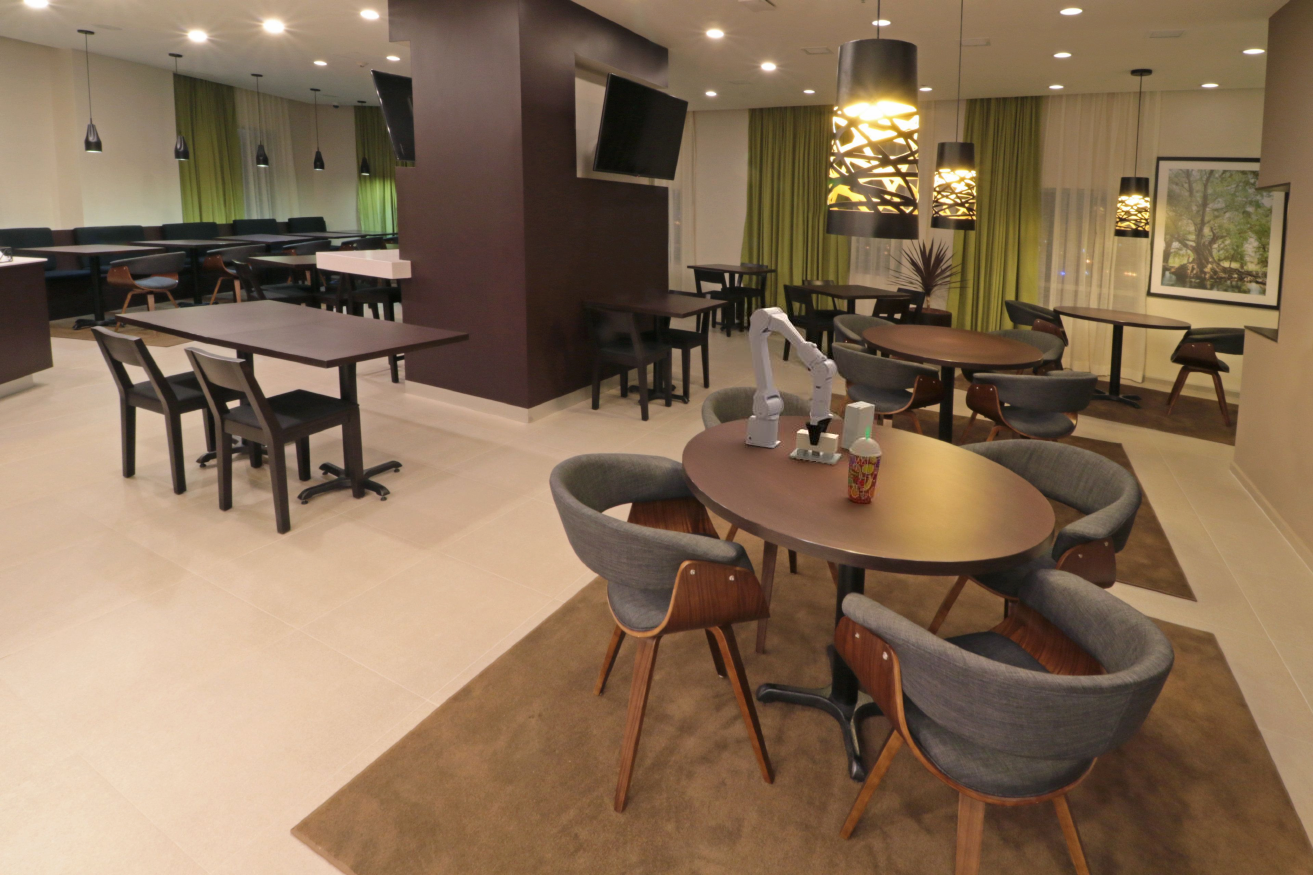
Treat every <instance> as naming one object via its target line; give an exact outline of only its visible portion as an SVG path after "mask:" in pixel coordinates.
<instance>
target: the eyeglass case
mask: <svg viewBox="0 0 1313 875" xmlns="http://www.w3.org/2000/svg"><path fill="white" fill-rule="evenodd" d="M839 436H840V435H839V434H836V433H835V434H834V433H828V432H826V433H822V432H821V435H820V438H819V442H818V445H817V446H814V445H810V439H809V433H808V429H799V430H798V431H797V432H796V438H795V439H796V441H795V449H797V448H799V449H805V450H811V451H817V452H823V453H829V454H834V453H836V452H837V451H838V444H839Z"/></svg>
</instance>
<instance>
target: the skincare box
mask: <svg viewBox="0 0 1313 875" xmlns="http://www.w3.org/2000/svg"><path fill="white" fill-rule="evenodd" d="M875 408H876V405H875V404H873V403H868V402H866V401H862V400H861V401H857V402H853V403H848V404H846V405H845V412H844V420H843V427H842V428H843V429H842V438H841V446H840V447H841V448H842V449H845V450H848V451H849V449H850V448H851V447H852V445H853V443H854V442H855V441H857V440H858V439H860V438H865V437H866V433H867V428H870V429H869V438H871V439H872V434H873V427H874V426H873V424H874V418H875Z"/></svg>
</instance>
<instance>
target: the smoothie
mask: <svg viewBox="0 0 1313 875" xmlns="http://www.w3.org/2000/svg"><path fill="white" fill-rule="evenodd" d="M869 429H870V428H867V433H866V437H865V438H860V439H858V440H857V441H855V442H854V443H853V445H852V447H851V448H850V449H849V450H848V451H849V453H848V454H849V455H848V457H849V458H848V472H847V474H848V475H847V476H848V477H847V492H846V493H847V495H848V499H849V500H850V501H851V502H854V503H858V504H868V503H870V502H871V500H872V499H873V498H874V494H875V491H876V487H877V486H876V485H877V484H876V483H877V481H878V480H877V479H878V474H879V469H880V466H881V459H882V455H883V452H882V450H881V447H880V445H879V444H878V442H877V441H876V440H875V439H874V438H872V437H871V438H869Z"/></svg>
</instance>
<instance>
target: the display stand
mask: <svg viewBox="0 0 1313 875" xmlns="http://www.w3.org/2000/svg"><path fill="white" fill-rule="evenodd" d="M789 457H790V458H791V459H794V458H796V459H795V460H800V459H803V460H802V461H806V460H809V461H808V462H812V461H816V462H815V463H818V462H821V463H820V464H824V463H827V464H826V465H830V464H832V465H831V466H834V464H835V465H836V464H837V462H838V461H839V460H840V459H841V458H842V453H838V452H837V453H836V452H835V453H834V454H829V453H823V452H817V451H811V450H805V449H799V448H795V449H794V450H793V451H792V452H791V453H790V454H789V456H788V458H789ZM840 457H841V458H840ZM790 458H789V459H790Z"/></svg>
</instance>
